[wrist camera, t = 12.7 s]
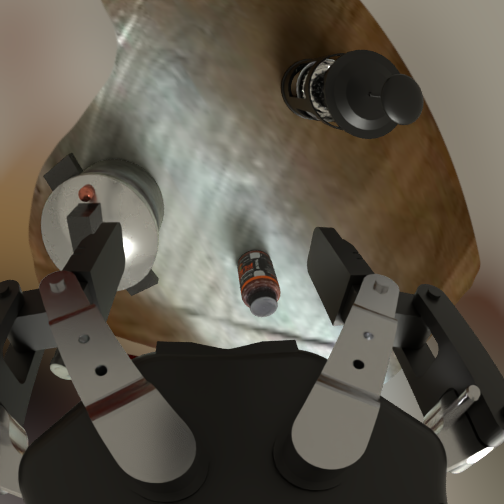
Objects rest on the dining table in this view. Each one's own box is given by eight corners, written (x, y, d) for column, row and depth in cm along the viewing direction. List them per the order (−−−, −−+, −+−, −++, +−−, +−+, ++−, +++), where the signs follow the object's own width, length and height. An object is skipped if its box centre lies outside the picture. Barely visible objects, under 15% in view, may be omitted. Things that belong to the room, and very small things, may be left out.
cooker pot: (44, 179, 38) (16, 201, 31) (122, 120, 36) (100, 129, 29) (116, 278, 50) (103, 312, 42) (194, 238, 48) (191, 271, 40)
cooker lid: (35, 176, 30) (15, 190, 25) (156, 170, 32) (148, 184, 28) (59, 283, 38) (47, 305, 34) (163, 288, 41) (158, 313, 37)
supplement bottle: (244, 244, 49) (253, 286, 40) (276, 254, 51) (292, 296, 42) (231, 272, 52) (237, 317, 43) (262, 280, 54) (274, 325, 44)
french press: (294, 131, 41) (371, 179, 21) (264, 76, 36) (322, 65, 16) (360, 101, 39) (468, 128, 19) (335, 46, 34) (438, 29, 15)
